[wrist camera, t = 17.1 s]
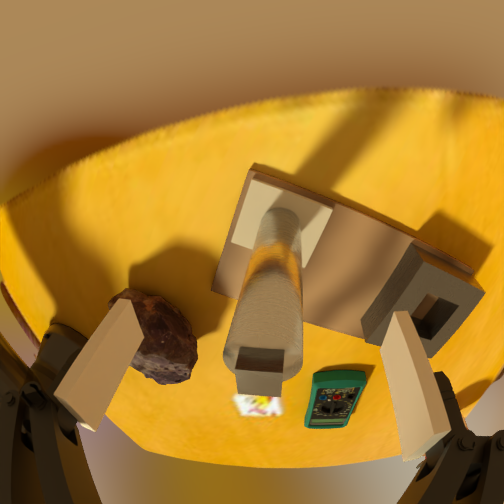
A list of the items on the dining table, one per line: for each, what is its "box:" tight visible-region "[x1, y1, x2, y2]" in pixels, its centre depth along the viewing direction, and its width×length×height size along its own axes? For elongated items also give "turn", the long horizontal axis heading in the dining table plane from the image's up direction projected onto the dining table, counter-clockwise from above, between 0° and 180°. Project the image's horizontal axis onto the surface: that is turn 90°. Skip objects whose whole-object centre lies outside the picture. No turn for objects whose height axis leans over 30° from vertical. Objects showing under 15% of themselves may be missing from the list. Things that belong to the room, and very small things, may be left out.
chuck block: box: [360, 243, 486, 358], centre depth 24 cm, size 10×10×3 cm
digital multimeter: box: [304, 370, 367, 429], centre depth 36 cm, size 7×15×3 cm, turn 3°
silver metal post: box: [223, 207, 303, 397], centre depth 17 cm, size 3×3×15 cm
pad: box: [231, 178, 333, 268], centre depth 23 cm, size 7×6×1 cm
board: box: [211, 169, 474, 339], centre depth 26 cm, size 26×13×1 cm, turn 72°
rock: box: [108, 288, 198, 385], centre depth 29 cm, size 12×9×10 cm
